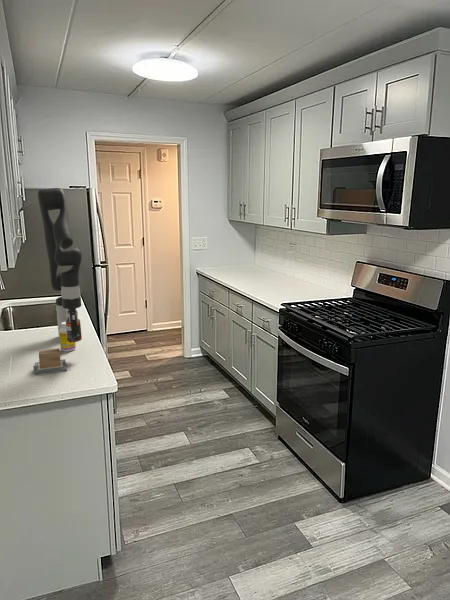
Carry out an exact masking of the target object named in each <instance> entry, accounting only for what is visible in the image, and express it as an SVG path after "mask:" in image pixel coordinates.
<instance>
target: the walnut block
mask: <svg viewBox="0 0 450 600" xmlns="http://www.w3.org/2000/svg"><path fill="white" fill-rule="evenodd" d="M61 360H62V359H61V348H60V347H59V348H48V349H40V350H38V362H39V364H40V369H42V368H50V367H59V366H61Z"/></svg>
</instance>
